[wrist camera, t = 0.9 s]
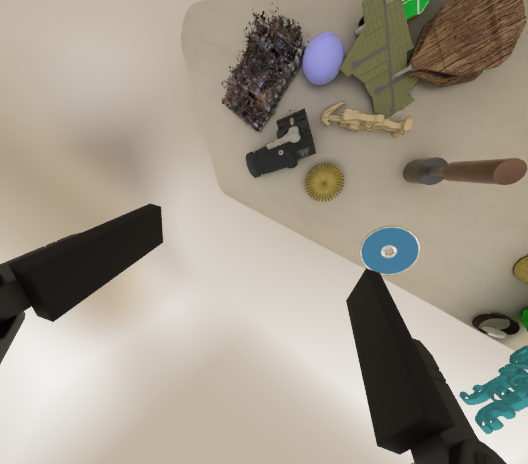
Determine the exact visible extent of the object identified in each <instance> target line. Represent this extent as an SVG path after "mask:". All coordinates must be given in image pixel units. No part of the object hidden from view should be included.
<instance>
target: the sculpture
mask: <svg viewBox="0 0 528 464" xmlns="http://www.w3.org/2000/svg"><path fill="white" fill-rule="evenodd" d="M318 166H319V169H318V167H317V165H316V166H315V167H316V169H317V171H318V173H319V174H318V173H317V171H316V170H315V169H314V167H313V168H312V169H313V170H314V171H315V173H316V174H317V175H318V176H317V175H316V174H315V173H314V172H313V171H312V170H310V171H311V172H312V173H313V174H314V175H315V176H314V175H313V174H311V173H309V172H308V174H309V175H311V176H312V177H311V176H308V175H307V176H306V177H308V178H310V179H307V178H306V179H305V180H307V182H305V183H307V185H305V186H309V187H307V188H306V190H307V189H309V190H307V192H309V193H308V194H309V195H310V194H311V193H312V194H311V196H310V197H312V196H313V195H314V194H315V195H314V196H313V199H314V198H315V197H316V196H317V197H316V199H315V200H317V199H318V197H319V200H318V201H320V200H321V197H322V201H323V200H324V198H325V201H326V195H327V198H328V201H329V200H330V199H329V195H330V198H331V200H332V199H333V198H332V196H331V194H332V195H333V197H334V198H335V195H334V194H333V193H335V194H336V195H337V196H338V194H337V193H336V192H338V193H340V191H338V190H337V189H339V190H342V189H341V188H339V187H343V185H339V184H344V182H340V181H344V179H340V178H343V177H344V176H340V175H342V174H343V173H342V172H341V170H338V169H339V168H338V167H337V168H336V165H335V166H334V167H333V164H331V166H330V163H328V166H327V163H325V167H324V165H323V163H322V169H321V166H320V164H318ZM329 167H330V168H329ZM332 167H333V168H332ZM335 168H336V169H335ZM319 170H320V171H319ZM337 170H338V171H337ZM336 171H337V172H336ZM339 172H341V173H339ZM338 173H339V174H338ZM337 186H338V187H337ZM310 188H311V189H310ZM335 188H336V189H335ZM334 190H335V191H336V192H335V191H334ZM310 191H311V192H310ZM327 191H328V192H327ZM329 191H330V192H329ZM332 192H333V193H332ZM328 193H329V195H328ZM330 193H331V194H330Z"/></svg>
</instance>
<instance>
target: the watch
mask: <svg viewBox="0 0 528 464" xmlns="http://www.w3.org/2000/svg"><path fill="white" fill-rule="evenodd" d="M492 318H500V319H509V320H510V325H509V327H508V328H506V329H501V330H499V329H495V328H492V327H483V328H482V329H480V328H479V325H480V324H481V323H482V322H483V321H485V320H488V319H492ZM472 324H473V326H474V327H475V328H477V329H478V330H479V331H481V332H483V333H486V334H489V335H491V336H494V337H497V338H505V336H506V335H511V334H515V333H517V332H518V331H519V329H520V327H519V324H518V323H517V322H516V321H514V320H512V319H510V318H508V317H506V316H503V315H500V314H497V313H496V314H495V313H491V314H482V315H479V316H477V317H475V318H474V319H473V321H472Z"/></svg>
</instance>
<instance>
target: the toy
mask: <svg viewBox="0 0 528 464" xmlns="http://www.w3.org/2000/svg"><path fill="white" fill-rule="evenodd" d="M345 104H346V102H344V101H343V102H340V103H338V104H336V105H334V106H332V107H330V108H328V109H327V110H326V111H324V112H323V114H322V116H321V121H322V123H323V124H324V125H326V126H327V127H329V126H330V123H329V122H327V121H328V120H329V121H336V122H339V123H338V125H339V127H341V128H348V129H349V130H352V131H354V132H356V131H358V130H365V129H366V130H367V131H373V130H374V129H380V130H383V129H384V130H385V131H393V132H392V137H398V135H402V134H404V132H405V131H410V128H411V126H412V123H413V116H408V117H406V118H405V119H404V120H403V121H400V122H399V123H396V122H392V121H390V120H389V119H387V120H386V119H384V115H381V114H377V115H366V114H365V113H362V114H360V112H359V111H358V110H351V109H345V110H344V112H343V113H342V115H341V116H336V115H330V114H331V113H334V112H335V111H336V110H338V109H339V108H340V107H341V106H343V105H345ZM360 124H362V125H360Z"/></svg>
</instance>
